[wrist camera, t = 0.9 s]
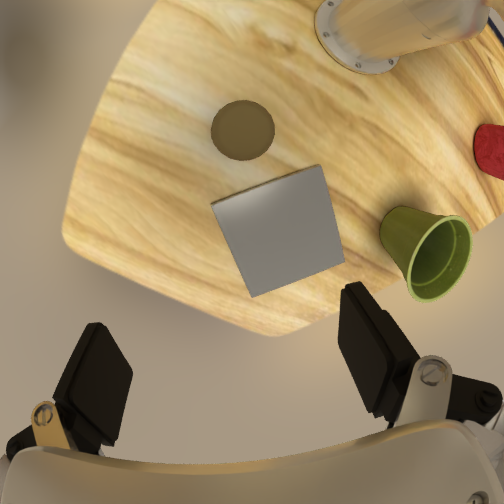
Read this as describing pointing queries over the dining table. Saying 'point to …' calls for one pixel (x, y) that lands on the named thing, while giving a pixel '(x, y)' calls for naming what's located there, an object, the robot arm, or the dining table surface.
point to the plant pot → (427, 250)
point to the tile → (281, 230)
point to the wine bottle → (490, 149)
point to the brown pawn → (242, 130)
